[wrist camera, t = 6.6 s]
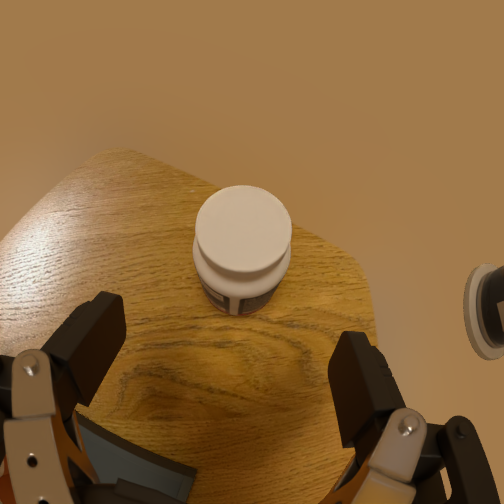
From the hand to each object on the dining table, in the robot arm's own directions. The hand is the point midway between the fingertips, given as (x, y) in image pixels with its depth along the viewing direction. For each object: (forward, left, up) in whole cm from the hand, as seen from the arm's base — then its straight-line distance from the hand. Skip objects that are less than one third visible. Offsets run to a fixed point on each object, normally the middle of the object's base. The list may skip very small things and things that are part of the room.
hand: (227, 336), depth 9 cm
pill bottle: (+1, -5, -12) cm, 13 cm away
